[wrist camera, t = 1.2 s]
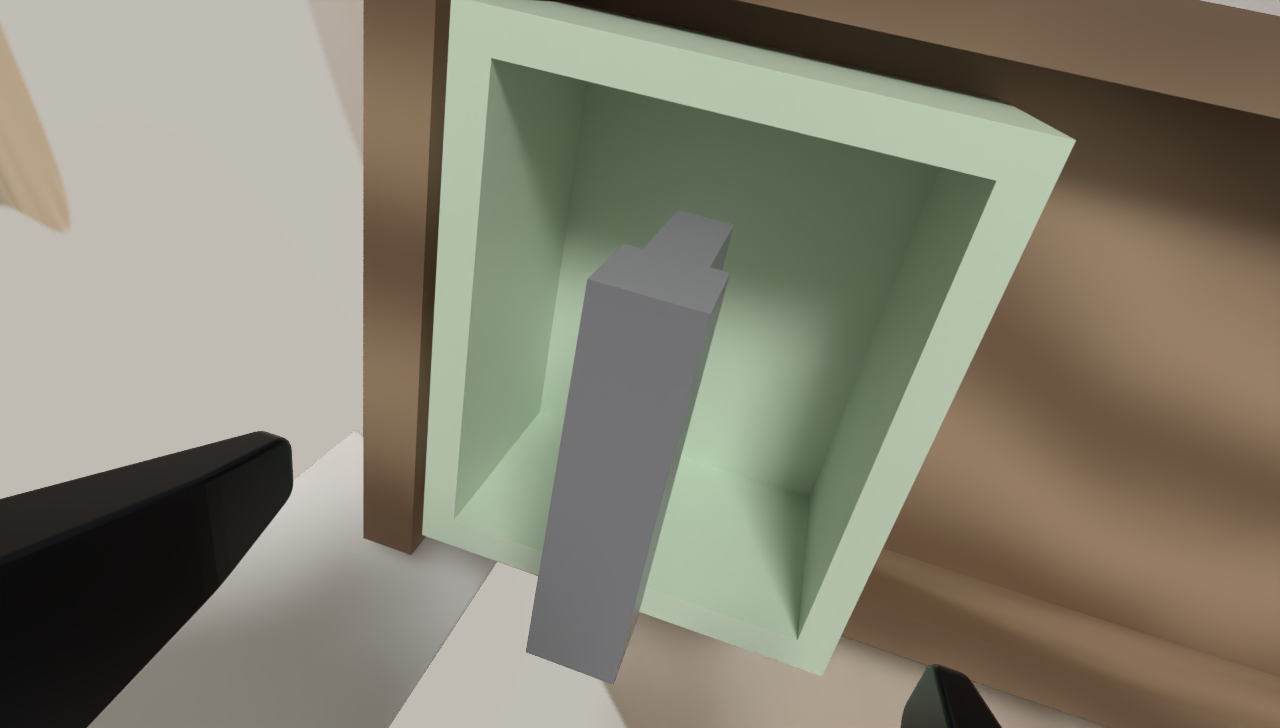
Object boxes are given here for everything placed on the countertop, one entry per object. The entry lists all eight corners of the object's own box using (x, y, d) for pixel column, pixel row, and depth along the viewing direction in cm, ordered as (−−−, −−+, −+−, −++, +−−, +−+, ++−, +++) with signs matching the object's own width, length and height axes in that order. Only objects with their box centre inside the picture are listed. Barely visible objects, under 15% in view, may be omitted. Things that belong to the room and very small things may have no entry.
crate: (828, 515, 21) (812, 859, 13) (520, 416, 23) (315, 662, 14) (1000, 99, 16) (1190, 202, 7) (574, 2, 17) (282, -14, 8)
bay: (1383, 743, 21) (1543, 963, 16) (457, 437, 25) (363, 537, 20) (2019, 181, 13) (2726, 279, 8) (501, -125, 17) (363, -182, 12)
